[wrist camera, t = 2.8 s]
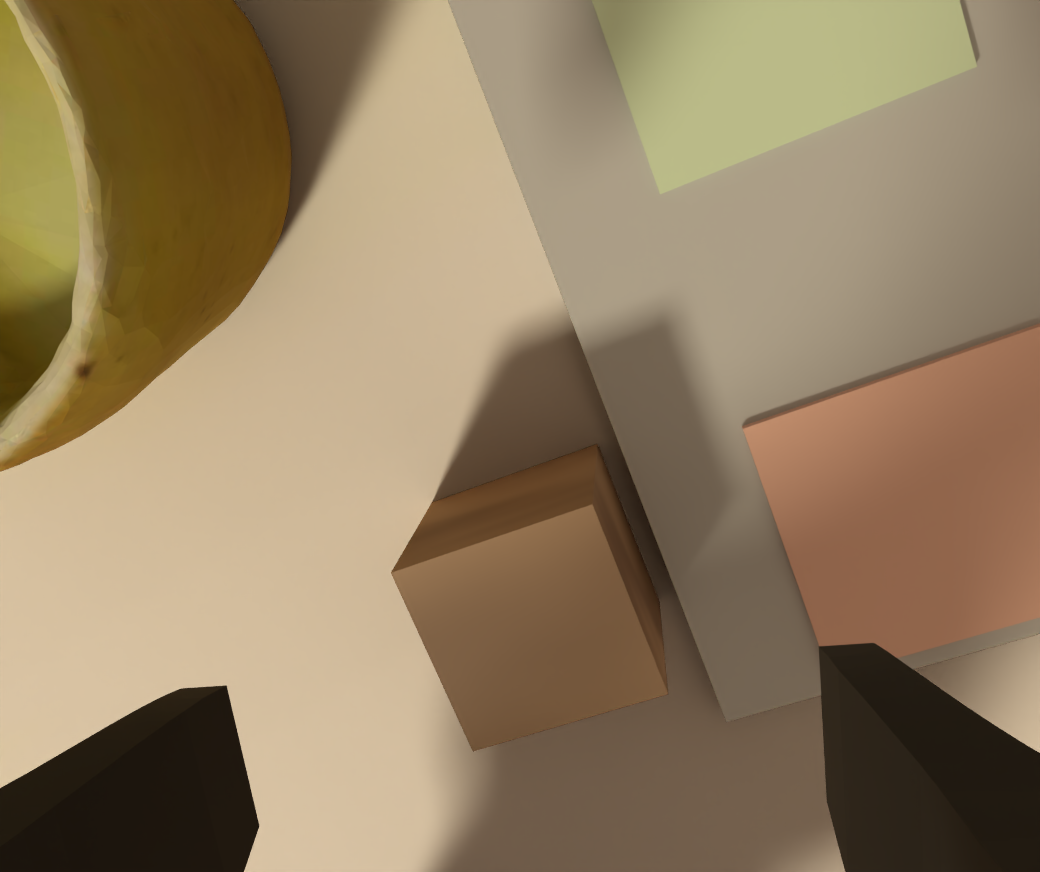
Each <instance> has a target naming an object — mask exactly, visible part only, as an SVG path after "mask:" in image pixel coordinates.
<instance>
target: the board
mask: <svg viewBox="0 0 1040 872" xmlns="http://www.w3.org/2000/svg"><path fill="white" fill-rule="evenodd" d="M448 2H449V5H450V7H451V10H452V13H453V15H454V18H455V20H456V23H457V26H458V28H459V31H460V33H461V36H462V39H463V41H464V44H465V46H466V49H467V52H468V54H469V57H470V59H471V62H472V64H473V67H474V70H475V72H476V75H477V77H478V80H479V83H480V85H481V88H482V90H483V93H484V96H485V98H486V101H487V103H488V106H489V109H490V111H491V114H492V116H493V119H494V121H495V124H496V127H497V129H498V132H499V134H500V137H501V140H502V142H503V145H504V147H505V150H506V153H507V155H508V158H509V160H510V163H511V166H512V168H513V171H514V173H515V176H516V178H517V181H518V184H519V186H520V189H521V191H522V194H523V197H524V199H525V202H526V204H527V207H528V210H529V212H530V215H531V217H532V220H533V223H534V225H535V228H536V230H537V233H538V236H539V238H540V241H541V243H542V246H543V248H544V251H545V254H546V256H547V259H548V261H549V264H550V267H551V269H552V272H553V274H554V277H555V280H556V282H557V285H558V287H559V290H560V293H561V295H562V298H563V300H564V303H565V305H566V308H567V311H568V313H569V316H570V318H571V321H572V324H573V326H574V329H575V331H576V334H577V337H578V339H579V342H580V344H581V347H582V350H583V352H584V355H585V357H586V360H587V362H588V365H589V368H590V370H591V373H592V375H593V378H594V381H595V383H596V386H597V388H598V391H599V394H600V396H601V399H602V401H603V404H604V407H605V409H606V412H607V414H608V417H609V419H610V422H611V425H612V427H613V430H614V432H615V435H616V438H617V440H618V443H619V445H620V448H621V451H622V453H623V456H624V458H625V461H626V464H627V466H628V469H629V471H630V474H631V477H632V479H633V482H634V484H635V487H636V489H637V492H638V495H639V497H640V500H641V502H642V505H643V508H644V510H645V513H646V515H647V518H648V521H649V523H650V526H651V528H652V531H653V534H654V536H655V539H656V541H657V544H658V546H659V549H660V552H661V554H662V557H663V559H664V562H665V565H666V567H667V570H668V572H669V575H670V578H671V580H672V583H673V585H674V588H675V591H676V593H677V596H678V598H679V601H680V603H681V606H682V609H683V611H684V614H685V616H686V619H687V622H688V624H689V627H690V629H691V632H692V635H693V637H694V640H695V642H696V645H697V648H698V650H699V653H700V655H701V658H702V660H703V663H704V666H705V668H706V671H707V673H708V676H709V679H710V681H711V684H712V686H713V689H714V692H715V694H716V697H717V699H718V702H719V705H720V707H721V710H722V712H723V715H724V718H725V720H726V722H729V721H733V720H736V719H740V718H744V717H747V716H751V715H754V714H758V713H761V712H765V711H768V710H772V709H775V708H779V707H783V706H786V705H790V704H793V703H797V702H800V701H804V700H807V699H811V698H814V697H818V696H821V681H820V663H819V646H832V645H847V644H862V643H875V644H877V645H878V646H880V647H882V648H883V649H885V650H886V651H888V652H889V653H890V654H892V655H893V656H895V657H896V658H898V659H899V660H900V661H902V662H903V663H905V664H906V665H907V666H909V667H910V668H912V669H913V670H914V669H917V668H921V667H924V666H928V665H931V664H935V663H938V662H942V661H946V660H949V659H953V658H956V657H960V656H963V655H967V654H970V653H974V652H977V651H981V650H985V649H988V648H992V647H995V646H999V645H1002V644H1006V643H1009V642H1013V641H1016V640H1020V639H1024V638H1027V637H1031V636H1034V635H1038V634H1040V0H448Z"/></svg>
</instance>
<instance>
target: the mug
mask: <svg viewBox="0 0 1040 872" xmlns="http://www.w3.org/2000/svg"><path fill="white" fill-rule="evenodd" d="M291 159H292V154H291V144H290V135H289V130H288V124H287V119H286V113H285V109H284V105H283V101H282V97H281V93H280V90H279V86H278V83H277V81H276V78H275V75H274V73H273V70H272V67H271V65H270V62H269V59H268V57H267V55H266V53H265V51H264V49H263V47H262V45H261V43H260V41H259V39H258V37H257V35H256V33H255V31H254V29H253V27H252V25H251V23H250V21H249V20H248V18H247V17H246V16H245V15H244V13H243V12H242V11H241V10H240V8H239V7H238V6H237V5H236V3H235V2H234V1H233V0H0V471H3V470H6V469H9V468H11V467H14V466H17V465H20V464H22V463H24V462H26V461H28V460H30V459H32V458H34V457H37V456H40V455H42V454H44V453H47V452H49V451H51V450H54V449H56V448H58V447H60V446H62V445H64V444H66V443H68V442H70V441H72V440H74V439H76V438H77V437H79V436H81V435H83V434H85V433H86V432H88V431H89V430H91V429H92V428H94V427H95V426H97V425H98V424H100V423H101V422H103V421H104V420H106V419H107V418H109V417H111V416H112V415H113V414H115V413H116V412H117V411H119V410H120V409H122V408H123V407H124V406H125V405H127V404H128V403H129V402H130V401H131V400H132V399H133V398H134V397H135V396H137V395H138V394H139V393H140V392H141V391H142V390H143V389H144V388H145V387H147V386H148V385H149V384H150V383H151V382H152V381H153V380H154V379H155V378H156V377H157V376H159V375H160V374H161V373H163V372H164V371H165V370H167V369H168V368H169V367H170V366H171V365H172V364H174V363H175V362H176V361H177V360H178V359H179V358H180V357H181V356H182V355H184V354H185V353H186V352H187V351H188V350H189V349H190V348H191V347H193V346H194V345H195V344H197V343H198V342H199V341H200V340H202V339H203V338H204V337H205V336H206V335H208V334H209V333H210V332H211V331H213V330H214V329H215V328H216V327H217V326H219V325H220V324H221V323H222V322H224V321H225V320H226V319H227V318H228V317H229V316H230V314H231V313H232V312H233V311H234V310H235V309H236V308H237V307H238V306H239V305H240V303H241V302H242V300H243V299H244V298H245V296H246V295H247V293H248V292H249V291H250V289H251V288H252V286H253V285H254V283H255V282H256V280H257V279H258V277H259V275H260V274H261V272H262V270H263V269H264V267H265V265H266V264H267V262H268V260H269V258H270V257H271V255H272V253H273V251H274V248H275V246H276V244H277V242H278V239H279V237H280V235H281V233H282V228H283V224H284V221H285V217H286V214H287V210H288V203H289V194H290V177H291Z"/></svg>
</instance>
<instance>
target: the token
mask: <svg viewBox="0 0 1040 872" xmlns="http://www.w3.org/2000/svg"><path fill="white" fill-rule="evenodd" d="M391 574H392V576H393V578H394V581H395V583H396V585H397V587H398V589H399V591H400V594H401V596H402V598H403V600H404V602H405V604H406V607H407V609H408V611H409V613H410V615H411V618H412V620H413V622H414V624H415V626H416V628H417V631H418V633H419V635H420V637H421V639H422V641H423V644H424V646H425V648H426V650H427V652H428V655H429V657H430V659H431V661H432V663H433V665H434V668H435V670H436V672H437V674H438V676H439V678H440V681H441V683H442V685H443V687H444V689H445V692H446V694H447V696H448V698H449V700H450V702H451V705H452V707H453V709H454V711H455V713H456V715H457V718H458V720H459V722H460V724H461V726H462V729H463V731H464V733H465V735H466V737H467V739H468V742H469V744H470V746H471V748H472V750H473V751H476V750H479V749H483V748H486V747H490V746H493V745H497V744H500V743H503V742H507V741H510V740H514V739H517V738H520V737H524V736H527V735H531V734H534V733H538V732H541V731H544V730H548V729H551V728H555V727H558V726H561V725H565V724H568V723H572V722H575V721H579V720H582V719H585V718H589V717H592V716H596V715H599V714H602V713H606V712H609V711H613V710H616V709H620V708H623V707H626V706H630V705H633V704H637V703H640V702H643V701H647V700H650V699H654V698H657V697H661V696H664V695H667V694H668V687H667V677H666V666H665V655H664V644H663V634H662V623H661V612H660V602H659V599H658V597H657V594H656V592H655V589H654V587H653V584H652V581H651V579H650V576H649V574H648V571H647V569H646V566H645V564H644V561H643V558H642V556H641V553H640V551H639V548H638V546H637V543H636V541H635V538H634V536H633V533H632V530H631V528H630V525H629V523H628V520H627V518H626V515H625V513H624V510H623V507H622V505H621V502H620V500H619V497H618V495H617V492H616V490H615V487H614V485H613V482H612V479H611V477H610V474H609V472H608V469H607V467H606V464H605V462H604V459H603V456H602V454H601V451H600V449H599V446H598V444H596V445H593V446H590V447H587V448H584V449H582V450H579V451H576V452H573V453H570V454H567V455H565V456H562V457H559V458H556V459H553V460H550V461H548V462H545V463H542V464H539V465H536V466H533V467H531V468H528V469H525V470H522V471H519V472H516V473H514V474H511V475H508V476H505V477H502V478H499V479H497V480H494V481H491V482H488V483H485V484H482V485H480V486H477V487H474V488H471V489H468V490H465V491H463V492H460V493H457V494H454V495H451V496H449V497H446V498H443V499H440V500H437V501H434V502H432V503H431V505H430V507H429V509H428V510H427V512H426V514H425V515H424V517H423V519H422V521H421V522H420V524H419V526H418V527H417V529H416V531H415V533H414V534H413V536H412V538H411V539H410V541H409V543H408V545H407V546H406V548H405V550H404V551H403V553H402V555H401V557H400V558H399V560H398V562H397V563H396V565H395V567H394V569H393V570H392V572H391Z"/></svg>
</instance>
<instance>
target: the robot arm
mask: <svg viewBox="0 0 1040 872" xmlns="http://www.w3.org/2000/svg"><path fill="white" fill-rule="evenodd" d="M819 663H820V681H821V700H822V719H823V737H824V756H825V775H826V793H827V803H828V807H829V811H830V815H831V819H832V823H833V826H834V830H835V834H836V838H837V842H838V846H839V850H840V853H841V857H842V861H843V864H844V868H845V872H1040V753H1039V752H1037V751H1035V750H1034V749H1032V748H1030V747H1028V746H1027V745H1025V744H1024V743H1022V742H1020V741H1019V740H1017V739H1016V738H1014V737H1012V736H1011V735H1009V734H1008V733H1006V732H1004V731H1003V730H1001V729H1000V728H998V727H997V726H995V725H993V724H992V723H990V722H989V721H987V720H986V719H984V718H983V717H981V716H980V715H978V714H977V713H975V712H974V711H972V710H971V709H969V708H968V707H966V706H965V705H963V704H962V703H960V702H959V701H957V700H956V699H954V698H953V697H952V696H950V695H949V694H947V693H946V692H944V691H943V690H941V689H940V688H939V687H937V686H936V685H934V684H933V683H931V682H930V681H929V680H927V679H926V678H924V677H923V676H922V675H920V674H919V673H917V672H916V671H915V670H913V669H912V668H910V667H909V666H907V665H906V664H905V663H903V662H902V661H900V660H899V659H898V658H896V657H895V656H893V655H892V654H890V653H889V652H888V651H886V650H885V649H883V648H882V647H880V646H878V645H877V644H875V643H862V644H847V645H832V646H819ZM258 828H259V823H258V819H257V814H256V810H255V806H254V801H253V797H252V793H251V789H250V784H249V780H248V776H247V771H246V767H245V763H244V759H243V754H242V750H241V746H240V741H239V737H238V733H237V729H236V724H235V720H234V716H233V711H232V707H231V703H230V699H229V694H228V690H227V686H213V687H198V688H183V689H179V690H177V691H174V692H172V693H170V694H167V695H165V696H163V697H161V698H159V699H157V700H155V701H153V702H151V703H149V704H147V705H145V706H143V707H141V708H139V709H138V710H136V711H134V712H132V713H130V714H129V715H127V716H125V717H123V718H122V719H120V720H118V721H116V722H114V723H113V724H111V725H109V726H108V727H106V728H104V729H102V730H101V731H99V732H97V733H95V734H94V735H92V736H90V737H89V738H87V739H85V740H83V741H82V742H80V743H78V744H77V745H75V746H73V747H71V748H70V749H68V750H66V751H65V752H63V753H61V754H59V755H58V756H56V757H54V758H53V759H51V760H49V761H48V762H46V763H44V764H42V765H41V766H39V767H37V768H36V769H34V770H32V771H30V772H29V773H27V774H25V775H23V776H22V777H20V778H18V779H16V780H14V781H12V782H11V783H9V784H7V785H5V786H3V787H2V788H0V872H244V870H245V867H246V864H247V861H248V858H249V855H250V852H251V849H252V846H253V843H254V840H255V837H256V834H257V831H258Z"/></svg>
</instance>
